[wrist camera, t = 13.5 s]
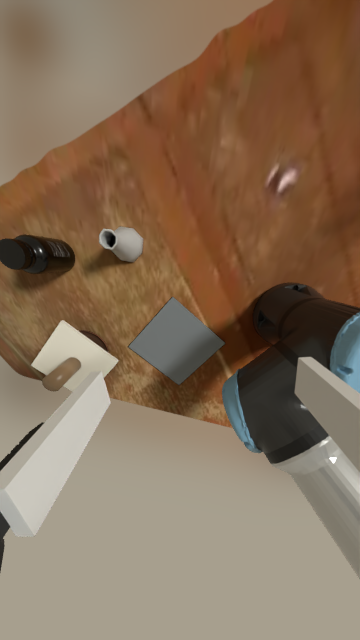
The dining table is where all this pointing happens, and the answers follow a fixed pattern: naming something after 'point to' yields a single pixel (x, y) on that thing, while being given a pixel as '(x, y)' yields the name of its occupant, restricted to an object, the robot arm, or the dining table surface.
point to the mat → (176, 342)
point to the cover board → (75, 349)
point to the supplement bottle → (36, 254)
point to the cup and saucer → (95, 339)
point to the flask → (122, 243)
